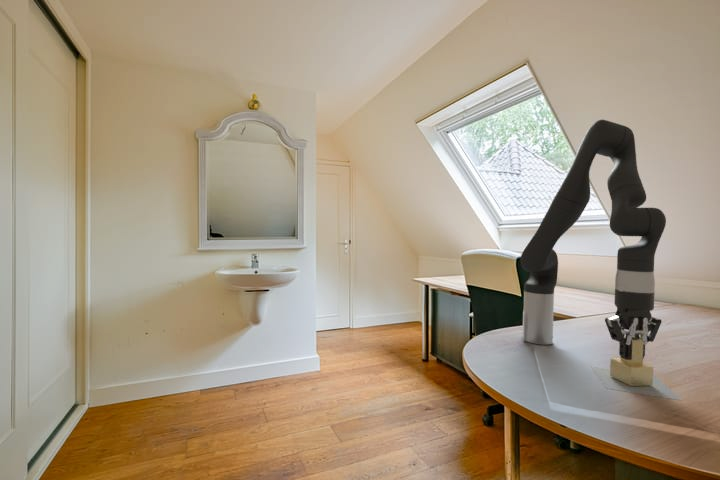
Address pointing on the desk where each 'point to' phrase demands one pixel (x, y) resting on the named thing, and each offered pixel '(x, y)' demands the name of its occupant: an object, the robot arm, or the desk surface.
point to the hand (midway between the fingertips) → (631, 358)
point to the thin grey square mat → (652, 390)
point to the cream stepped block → (632, 367)
